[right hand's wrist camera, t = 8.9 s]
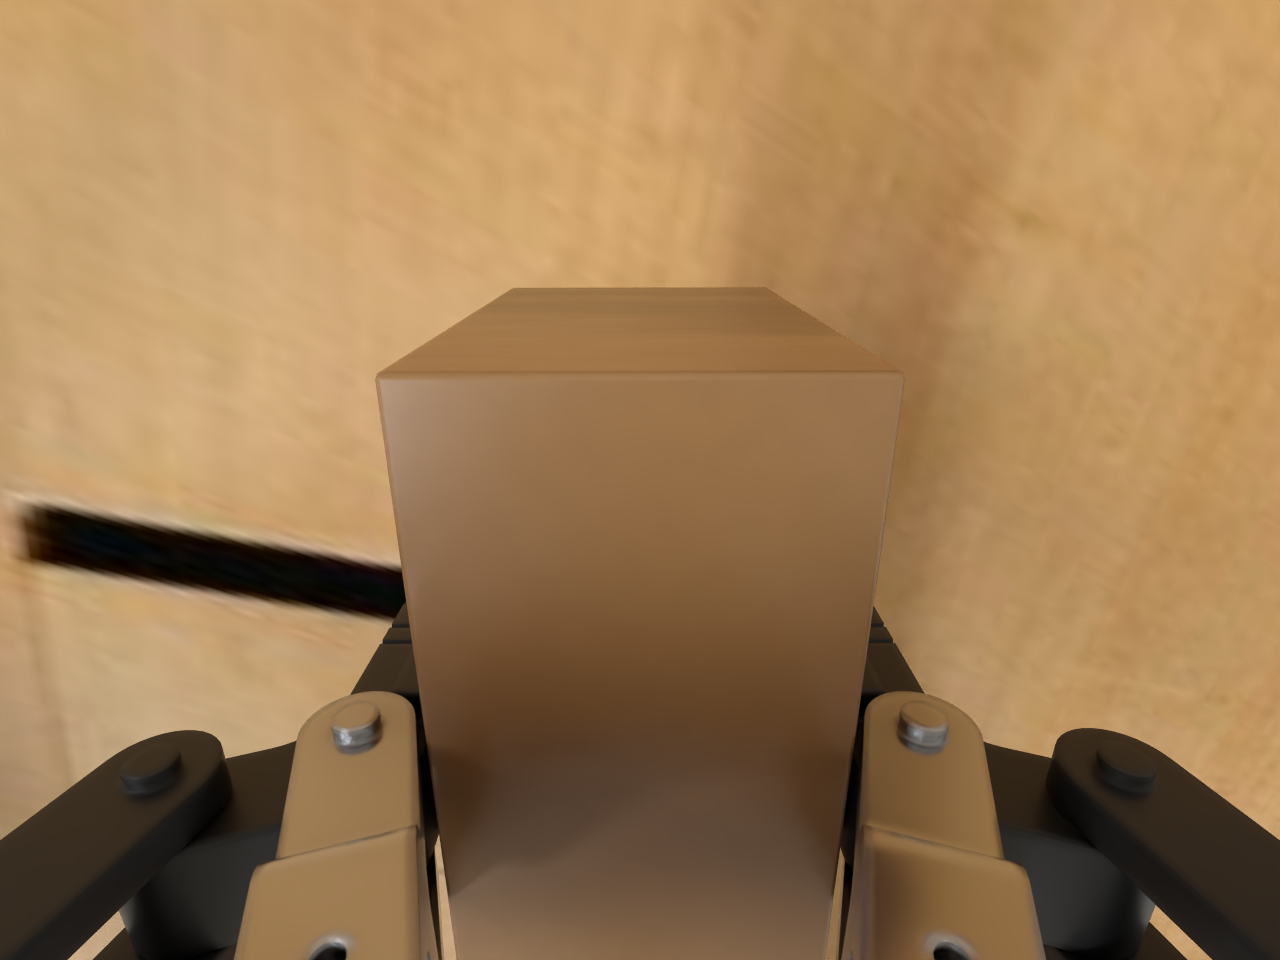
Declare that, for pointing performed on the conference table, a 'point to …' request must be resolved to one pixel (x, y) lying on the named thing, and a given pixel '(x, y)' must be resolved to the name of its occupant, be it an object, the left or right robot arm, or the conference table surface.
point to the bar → (640, 613)
